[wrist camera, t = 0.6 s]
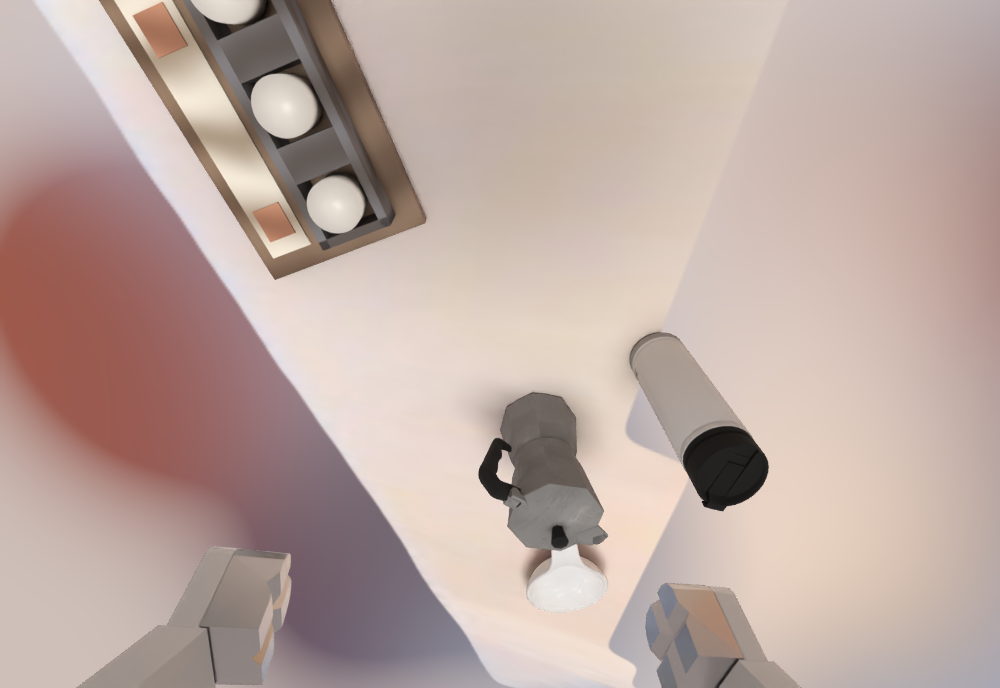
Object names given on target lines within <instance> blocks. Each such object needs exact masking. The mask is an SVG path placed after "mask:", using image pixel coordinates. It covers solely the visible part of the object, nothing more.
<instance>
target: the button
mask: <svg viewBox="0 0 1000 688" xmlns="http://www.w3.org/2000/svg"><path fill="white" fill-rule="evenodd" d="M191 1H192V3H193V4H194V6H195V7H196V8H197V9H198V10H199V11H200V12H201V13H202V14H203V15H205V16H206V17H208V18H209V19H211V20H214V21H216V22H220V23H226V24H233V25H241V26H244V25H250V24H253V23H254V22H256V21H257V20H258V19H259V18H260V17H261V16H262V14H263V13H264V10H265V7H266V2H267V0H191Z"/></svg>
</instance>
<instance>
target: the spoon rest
mask: <svg viewBox="0 0 1000 688" xmlns="http://www.w3.org/2000/svg"><path fill="white" fill-rule="evenodd" d="M607 588H608V581H607V578H606V576H605V575H604V574H603V572H602V571H601V570H600V569H599V568H598V567H597V566H596V565H595V564H593V563H592V562H591V561H589V560H587V559H585V558H583V557H581V556H580V555H579V551H578V546H577V544H575V545H573V546H571V547H569V548H567V549H564V550H562V551H556V550H551V557H550V558H548V559H547V560H545V561H544V562H542V563H541V564H540V565H539V566H538V567H537V568H536V569H535V571H534V572H533V574H532V575H531V577H530V580H529V582H528V585H527V590H526V595H527V599H528V600H529V602H530V603H531V604H532V605H533V606H535V607H536V608H538V609H540V610H543V611H547V612H556V613H560V612H561V613H562V612H570V611H576V610H580V609H583V608H586V607H588V606H591V605H593V604H594V603H596V602H597V601H599V600H600V599H601V598H602V597H603V596H604V594H605V593H606V591H607Z"/></svg>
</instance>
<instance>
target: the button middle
mask: <svg viewBox="0 0 1000 688" xmlns="http://www.w3.org/2000/svg"><path fill="white" fill-rule="evenodd" d="M251 106H252V110H253V113H254V115H255V117H256V119H257V121H258V122H259V124H260V125H261V126H262V127H263V128H264V129H265V130H266V131H268V132H269V133H271V134H272V135H274V136H277V137H280V138H286V139H288V138H295V137H298V136H300V135H302V134H304V133H306V132H308V131H310V130H312V129H313V128H314V127H315V126H316V125H317V124H318V122H319V120H320V118H321V114H322V104H321V101H320V99H319V97H318V95H317V93H316V91H315V89H314V87H313V85H312V84H311V83H310V82H309V81H308V80H307V79H305V78H304V77H302V76H300V75H297V74H293V73H281V74H271V75H267V76H265V77H263V78H261V79H260V80H259V81H258V82H257V83H256V84H255V86H254V88H253V91H252V94H251Z"/></svg>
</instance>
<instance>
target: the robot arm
mask: <svg viewBox="0 0 1000 688" xmlns="http://www.w3.org/2000/svg"><path fill="white" fill-rule="evenodd" d="M290 558H291V557H290V554H287V553H277V552H266V551H256V550H246V549H238V548H225V547H214V546H212V547H211V548H210V549H209V550H208V551H207V552H206V553H205V555H204V557H203V558H202V560H201V562H200V564H199V566H198V568H197V570H196V571H195V573H194V575H193V577H192V579H191V581H190V583H189V585H188V587H187V589H186V590H185V592H184V594H183V596H182V598H181V600H180V602H179V603H178V605H177V607H176V609H175V611H174V613H173V615H172V617H171V619H170V620H169V623H168V624H167V625H158V626H157V627H155V628H154V629H153V630H152V631H150V632H149V633H148V634H146V635H145V636H144V637H142V638H141V639H140V640H138V641H137V642H136V643H134V644H133V645H132V646H131V647H129V648H128V649H127V650H125V651H124V652H123V653H121V654H120V655H119V656H117V658H115V659H114V660H112V661H111V662H110V663H108V664H107V665H106V666H104V667H103V668H102V669H100V670H99V671H98V672H96V673H95V674H94V675H93V676H91V677H90V678H89V679H87V680H86V681H85V682H83V683H82V684H81V685H79V686H78V687H77V688H215V684H230V685H233V684H234V685H263V682H264V679H265V676H266V673H267V670H268V667H269V664H270V660H271V658H272V655H273V652H274V634H275V632H277V631H278V630H279V629H280V628H281V627H282V624H283V621H284V618H285V615H286V611H287V607H288V603H289V598H290V590H291V578H290V577H289V576H288V575H287V574H288V571H289V568H290V565H291V559H290ZM658 595H659V598H660V600H658V601H656V602H655V603H653V604H651V606H650V608H649V610H648V612H647V614H646V635H647V640H648V643H649V647H650V650H651V651H652V652H653V653H654V654H655V655H656V656H657V658H658V659H659V660H660V662H659V665H658V668H657V673H658V677H659V680H660V683H661V686H662V688H801V687H800V686H799V685H798V684H797V683H796V682H795V681H794V680H793V679H792V678H791V677H790V676H789V675H788V674H786V673H785V672H784V671H783V670H782V669H781V668H780V667H779V666H778V665H777V664H776V663H775V662H771V661H768V660H767V658H766V657H765V654H764V652H763V650H762V648H761V646H760V644H759V642H758V641H757V638H756V636H755V634H754V632H753V630H752V628H751V626H750V624H749V622H748V620H747V618H746V616H745V614H744V612H743V610H742V608H741V606H740V604H739V602H738V600H737V598H736V596H735V594H734V593H733V592H732V591H731V590H730V588H725V587H709V586H705V585H691V584H675V583H665V584H663V585H662V586H661V587H660V589H659V591H658Z"/></svg>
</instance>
